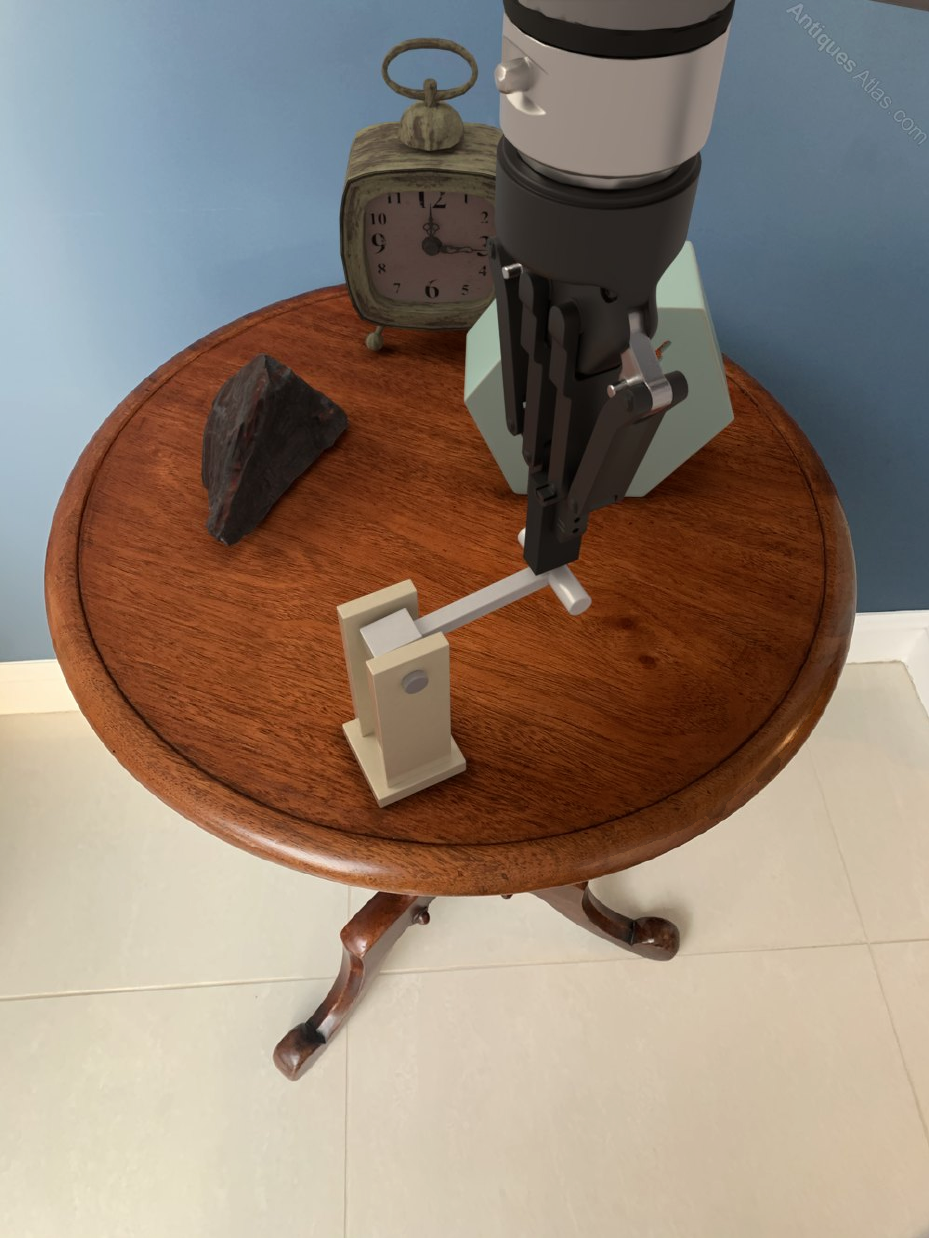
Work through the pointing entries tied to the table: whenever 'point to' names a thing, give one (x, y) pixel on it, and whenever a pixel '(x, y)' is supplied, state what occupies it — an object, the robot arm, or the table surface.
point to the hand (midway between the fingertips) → (550, 558)
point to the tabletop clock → (420, 211)
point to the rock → (261, 443)
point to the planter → (685, 351)
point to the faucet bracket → (398, 701)
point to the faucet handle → (473, 608)
